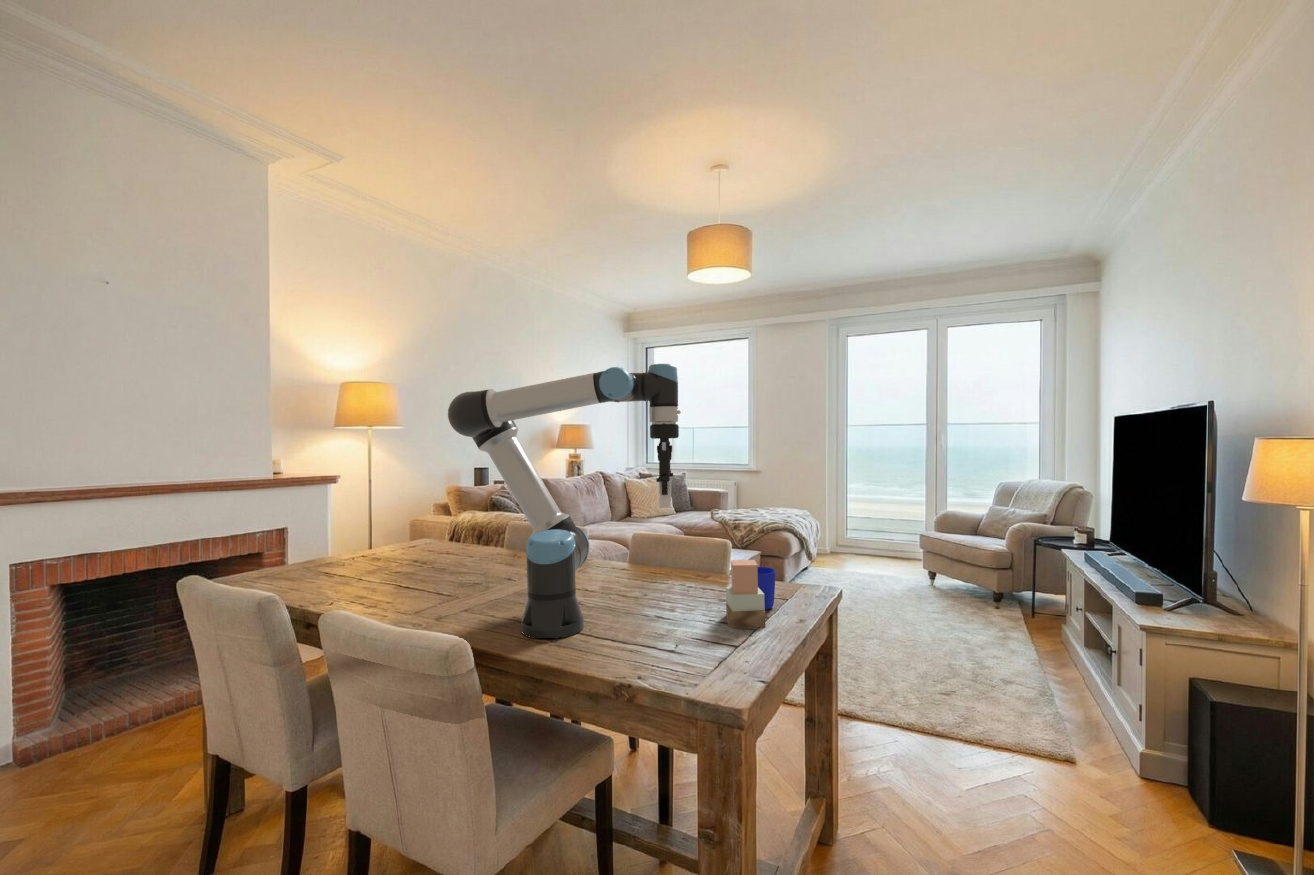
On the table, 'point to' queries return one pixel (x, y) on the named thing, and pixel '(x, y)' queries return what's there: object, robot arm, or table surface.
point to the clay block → (744, 577)
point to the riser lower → (745, 618)
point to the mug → (767, 585)
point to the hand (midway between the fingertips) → (665, 504)
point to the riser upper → (745, 601)
